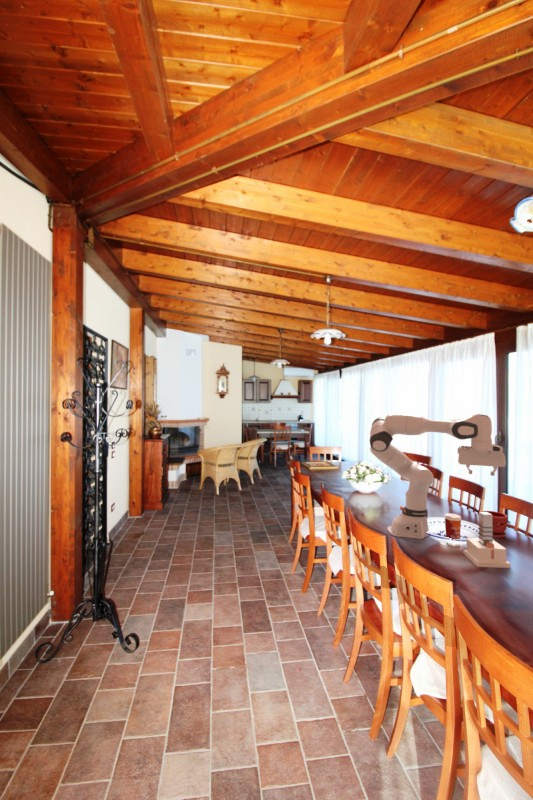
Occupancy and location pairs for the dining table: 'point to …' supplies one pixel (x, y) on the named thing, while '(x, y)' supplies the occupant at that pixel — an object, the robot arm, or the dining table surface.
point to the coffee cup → (452, 525)
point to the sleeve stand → (486, 554)
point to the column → (485, 528)
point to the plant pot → (498, 524)
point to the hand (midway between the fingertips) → (481, 474)
